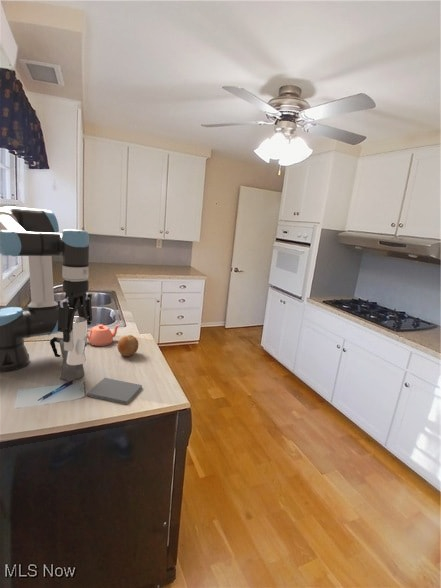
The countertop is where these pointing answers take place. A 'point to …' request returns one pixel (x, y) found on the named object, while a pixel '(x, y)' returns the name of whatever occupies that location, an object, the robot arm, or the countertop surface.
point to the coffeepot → (67, 370)
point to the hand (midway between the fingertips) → (76, 346)
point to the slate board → (114, 390)
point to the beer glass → (78, 341)
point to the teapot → (101, 335)
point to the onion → (128, 345)
